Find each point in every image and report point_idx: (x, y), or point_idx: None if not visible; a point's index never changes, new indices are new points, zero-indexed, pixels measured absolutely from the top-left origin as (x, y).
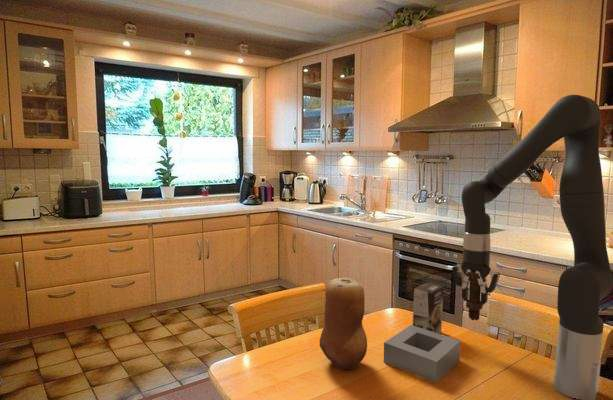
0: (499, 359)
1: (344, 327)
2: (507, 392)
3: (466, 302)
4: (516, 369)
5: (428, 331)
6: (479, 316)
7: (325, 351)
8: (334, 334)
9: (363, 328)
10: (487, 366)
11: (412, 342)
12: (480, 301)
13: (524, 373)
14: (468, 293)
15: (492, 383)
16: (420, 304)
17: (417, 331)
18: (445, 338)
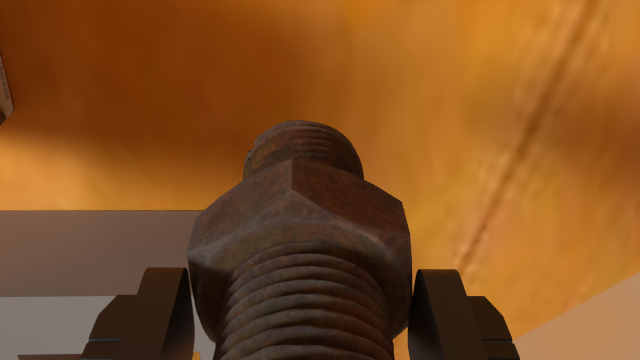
0: (485, 54)
1: None
2: (546, 311)
3: (215, 342)
4: (586, 108)
5: (57, 308)
6: (362, 169)
7: None
8: None
9: None
10: (435, 177)
11: (49, 356)
12: (376, 252)
13: (628, 122)
14: (166, 346)
15: (482, 292)
16: None
17: (9, 345)
18: (199, 322)
